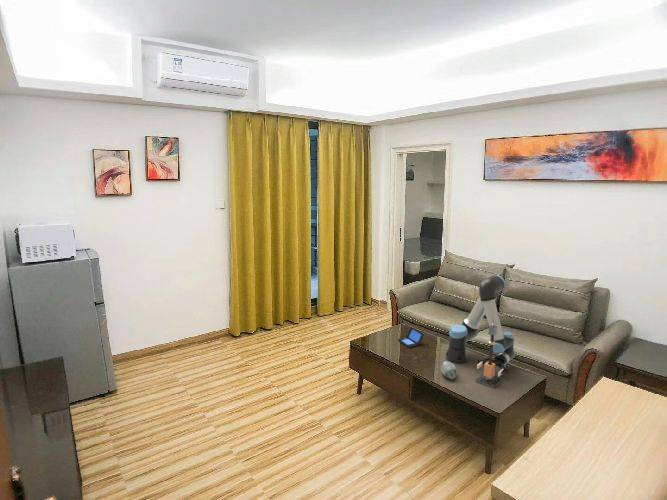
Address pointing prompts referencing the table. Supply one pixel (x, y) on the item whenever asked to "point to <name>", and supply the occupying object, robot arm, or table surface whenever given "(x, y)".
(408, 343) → the handheld game console
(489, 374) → the sleeve
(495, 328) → the stand
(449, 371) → the spool
